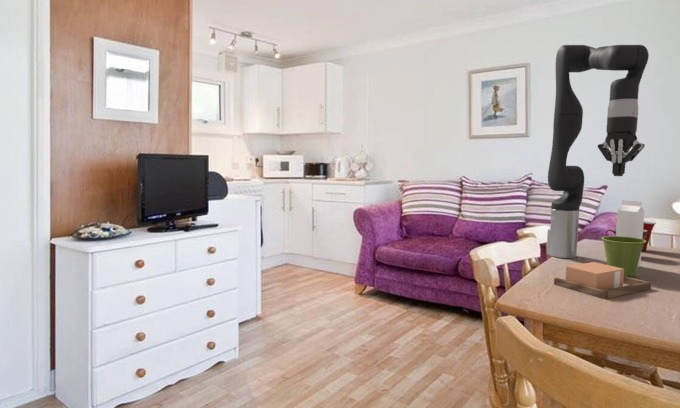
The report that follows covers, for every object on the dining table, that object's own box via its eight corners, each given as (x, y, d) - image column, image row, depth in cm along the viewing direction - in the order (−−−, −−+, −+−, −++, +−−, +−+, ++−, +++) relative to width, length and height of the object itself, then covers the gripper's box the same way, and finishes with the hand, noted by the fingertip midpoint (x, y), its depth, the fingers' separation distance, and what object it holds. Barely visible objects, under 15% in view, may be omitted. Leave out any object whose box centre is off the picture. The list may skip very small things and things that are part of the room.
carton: (565, 287, 130) (566, 266, 129) (592, 281, 135) (593, 262, 134) (595, 295, 121) (596, 273, 121) (622, 289, 127) (624, 268, 126)
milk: (633, 269, 149) (638, 202, 147) (613, 265, 154) (617, 200, 152) (640, 266, 153) (645, 201, 150) (620, 262, 158) (625, 199, 155)
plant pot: (637, 271, 146) (639, 237, 145) (648, 281, 135) (651, 243, 134) (595, 268, 150) (597, 234, 149) (603, 277, 139) (606, 241, 137)
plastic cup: (661, 252, 176) (663, 221, 174) (639, 253, 173) (641, 222, 171) (635, 246, 186) (637, 217, 185) (614, 248, 183) (616, 218, 182)
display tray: (553, 284, 131) (554, 278, 131) (598, 275, 141) (599, 270, 140) (604, 299, 118) (605, 292, 118) (650, 288, 127) (651, 282, 127)
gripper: (592, 117, 136) (588, 175, 138) (638, 113, 124) (633, 177, 126) (608, 118, 139) (604, 175, 141) (654, 115, 127) (649, 176, 129)
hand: (618, 176), depth 134 cm, fingers closed
